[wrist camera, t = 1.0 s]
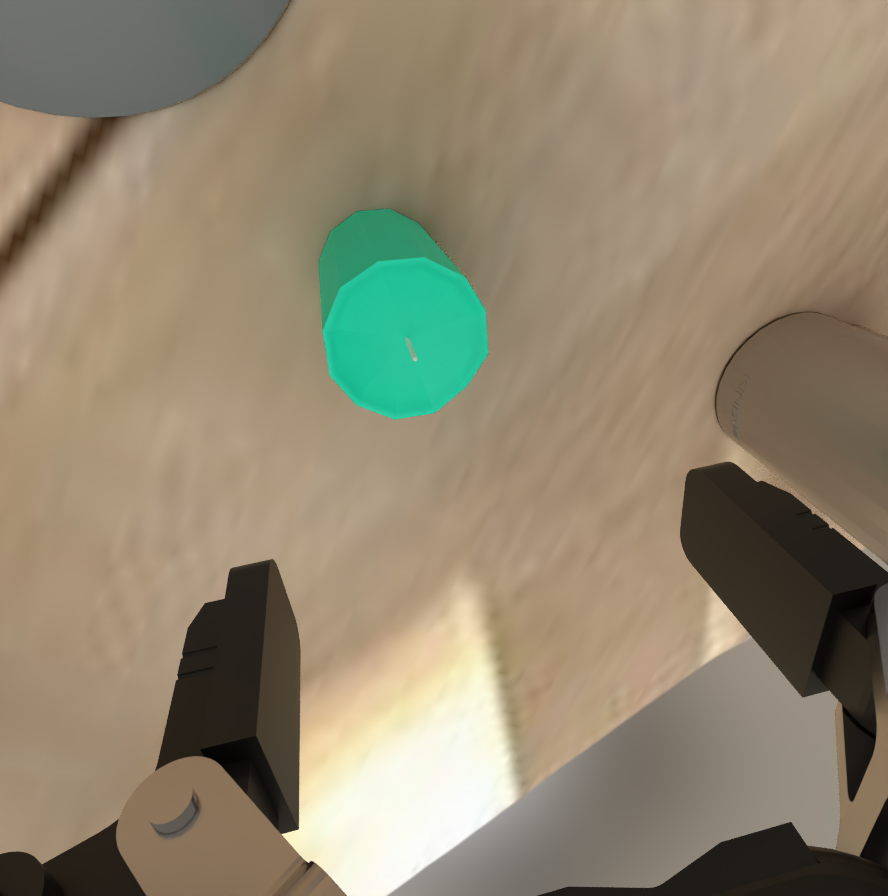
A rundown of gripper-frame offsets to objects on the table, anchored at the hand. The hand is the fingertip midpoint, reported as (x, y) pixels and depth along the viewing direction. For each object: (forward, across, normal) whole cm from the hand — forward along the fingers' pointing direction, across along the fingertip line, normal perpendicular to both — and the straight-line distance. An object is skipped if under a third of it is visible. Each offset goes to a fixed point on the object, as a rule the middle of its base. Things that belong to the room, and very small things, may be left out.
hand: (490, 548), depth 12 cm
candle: (+22, 0, 0) cm, 22 cm away
